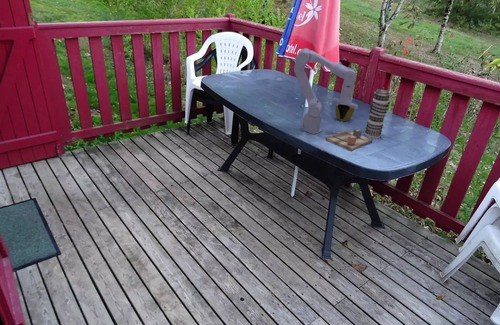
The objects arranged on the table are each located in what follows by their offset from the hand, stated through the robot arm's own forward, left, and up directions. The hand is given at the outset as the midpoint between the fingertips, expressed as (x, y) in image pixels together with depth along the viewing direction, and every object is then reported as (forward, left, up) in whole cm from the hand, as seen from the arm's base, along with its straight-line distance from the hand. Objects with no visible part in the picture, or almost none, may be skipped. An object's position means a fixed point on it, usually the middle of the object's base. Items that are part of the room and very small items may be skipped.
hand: (342, 118), depth 190 cm
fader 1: (+13, -8, -7) cm, 17 cm away
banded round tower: (+11, +16, -10) cm, 22 cm away
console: (+8, -3, -9) cm, 13 cm away
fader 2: (+9, +2, -7) cm, 12 cm away
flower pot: (-13, +22, -10) cm, 27 cm away
